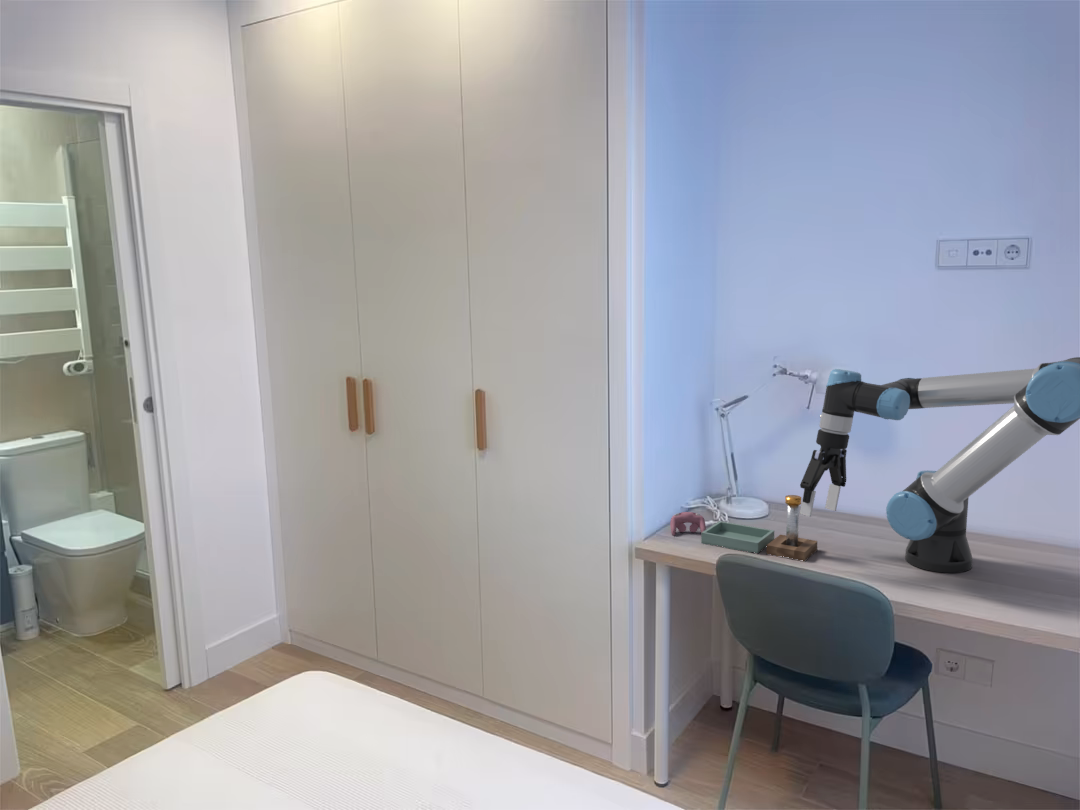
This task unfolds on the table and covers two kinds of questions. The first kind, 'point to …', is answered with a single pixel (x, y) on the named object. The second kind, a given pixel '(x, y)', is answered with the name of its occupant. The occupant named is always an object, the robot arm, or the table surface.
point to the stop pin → (792, 519)
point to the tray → (737, 536)
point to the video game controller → (687, 518)
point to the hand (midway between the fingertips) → (818, 512)
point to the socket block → (792, 548)
